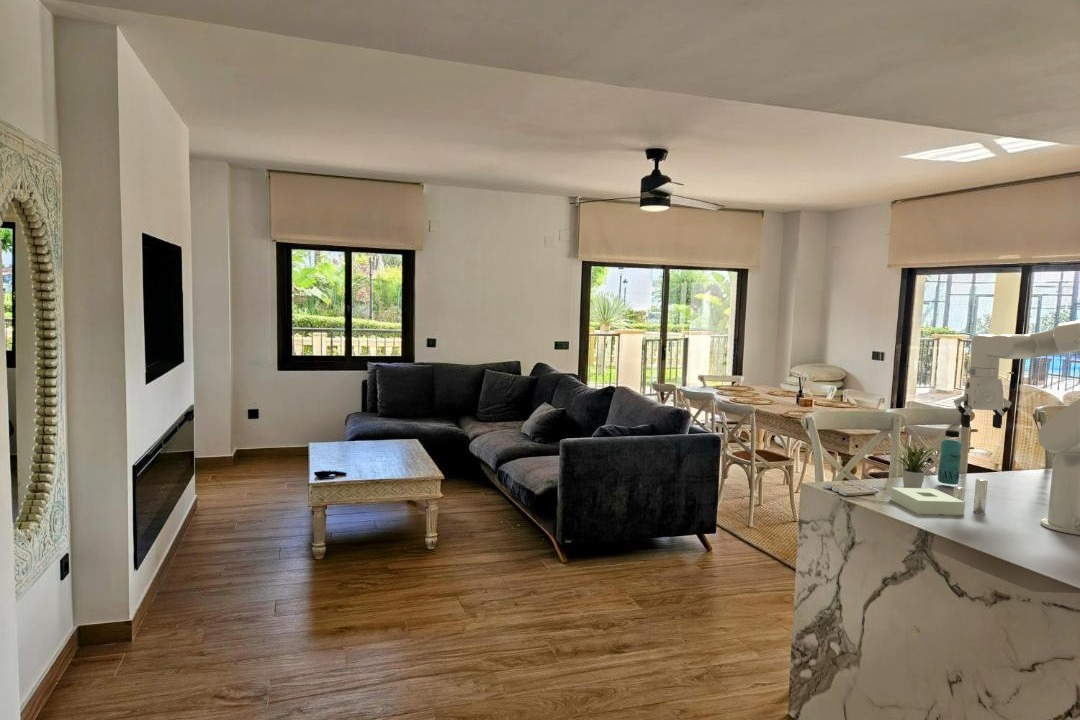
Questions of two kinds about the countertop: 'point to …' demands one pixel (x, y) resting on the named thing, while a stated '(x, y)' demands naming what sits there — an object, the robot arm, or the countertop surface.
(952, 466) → the beverage bottle
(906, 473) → the house plant
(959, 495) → the short pin
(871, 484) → the countertop surface
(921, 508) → the hole block
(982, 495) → the tall pin
